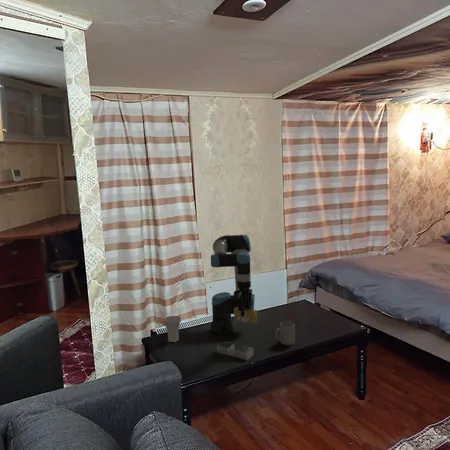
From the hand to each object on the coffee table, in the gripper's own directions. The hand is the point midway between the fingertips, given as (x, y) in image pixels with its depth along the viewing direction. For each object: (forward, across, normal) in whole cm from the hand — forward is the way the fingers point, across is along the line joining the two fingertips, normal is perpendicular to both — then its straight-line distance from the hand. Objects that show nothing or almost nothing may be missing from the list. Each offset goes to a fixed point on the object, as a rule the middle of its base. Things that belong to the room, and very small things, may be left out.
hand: (245, 320), depth 235 cm
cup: (+15, -16, +41) cm, 46 cm away
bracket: (+15, -13, 0) cm, 19 cm away
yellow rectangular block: (0, 0, 0) cm, 0 cm away
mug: (+15, +13, -18) cm, 27 cm away
